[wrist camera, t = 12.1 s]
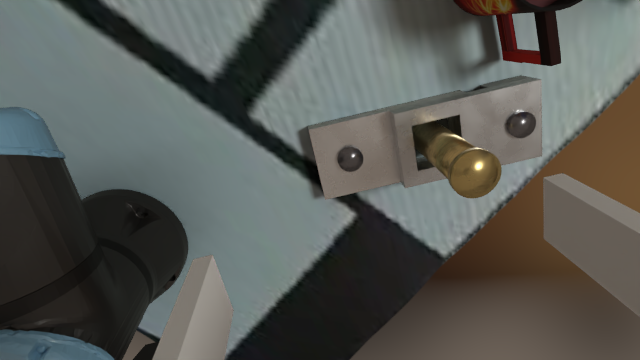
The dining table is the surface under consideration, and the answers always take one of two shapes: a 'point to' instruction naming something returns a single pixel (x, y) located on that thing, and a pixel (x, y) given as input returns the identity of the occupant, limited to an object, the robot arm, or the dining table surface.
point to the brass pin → (457, 159)
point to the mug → (503, 5)
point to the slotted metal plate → (396, 122)
